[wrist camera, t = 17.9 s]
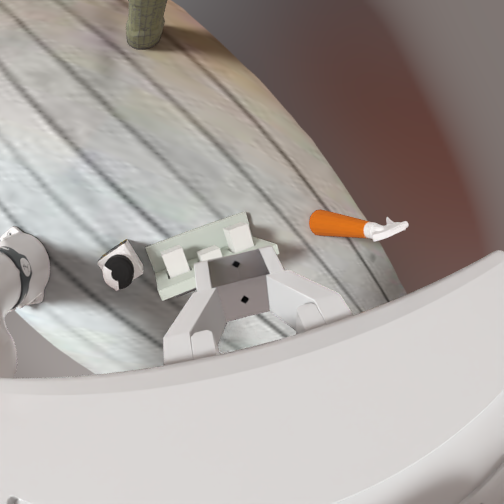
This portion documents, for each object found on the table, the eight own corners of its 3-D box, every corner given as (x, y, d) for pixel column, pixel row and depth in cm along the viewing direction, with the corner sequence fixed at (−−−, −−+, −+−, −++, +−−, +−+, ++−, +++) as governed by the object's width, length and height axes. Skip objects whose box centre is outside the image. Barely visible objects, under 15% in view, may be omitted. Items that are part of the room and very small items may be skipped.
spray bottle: (341, 224, 76) (415, 236, 52) (312, 239, 73) (386, 257, 49) (335, 201, 74) (410, 205, 50) (305, 215, 71) (380, 224, 47)
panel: (157, 279, 59) (162, 300, 46) (145, 247, 57) (145, 259, 44) (252, 243, 66) (279, 253, 54) (243, 211, 64) (269, 214, 51)
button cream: (208, 289, 59) (213, 296, 55) (195, 252, 57) (199, 256, 52) (227, 281, 60) (233, 287, 56) (215, 244, 58) (221, 248, 54)
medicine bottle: (127, 238, 55) (122, 246, 44) (144, 265, 57) (144, 280, 46) (101, 255, 53) (91, 268, 42) (118, 282, 56) (113, 300, 45)
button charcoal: (174, 290, 56) (176, 297, 52) (159, 251, 54) (160, 256, 49) (193, 282, 58) (198, 288, 53) (180, 244, 55) (183, 247, 51)
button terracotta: (233, 266, 60) (240, 271, 56) (221, 228, 58) (228, 230, 54) (252, 259, 62) (260, 263, 58) (241, 221, 59) (249, 223, 55)
